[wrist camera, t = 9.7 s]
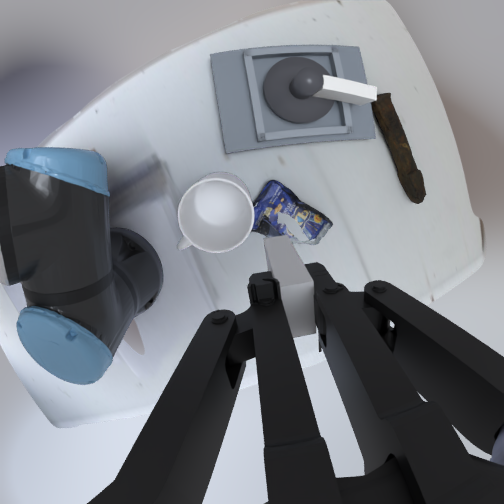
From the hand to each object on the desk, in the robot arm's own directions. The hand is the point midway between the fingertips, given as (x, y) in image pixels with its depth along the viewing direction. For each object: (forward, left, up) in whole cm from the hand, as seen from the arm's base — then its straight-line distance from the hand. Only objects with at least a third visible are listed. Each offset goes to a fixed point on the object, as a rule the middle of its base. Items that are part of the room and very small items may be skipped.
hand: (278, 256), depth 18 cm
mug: (-6, -1, -25) cm, 25 cm away
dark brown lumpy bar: (+24, +5, -25) cm, 35 cm away
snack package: (+4, -4, -25) cm, 26 cm away
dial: (+10, +14, -22) cm, 28 cm away
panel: (+8, +14, -24) cm, 29 cm away
